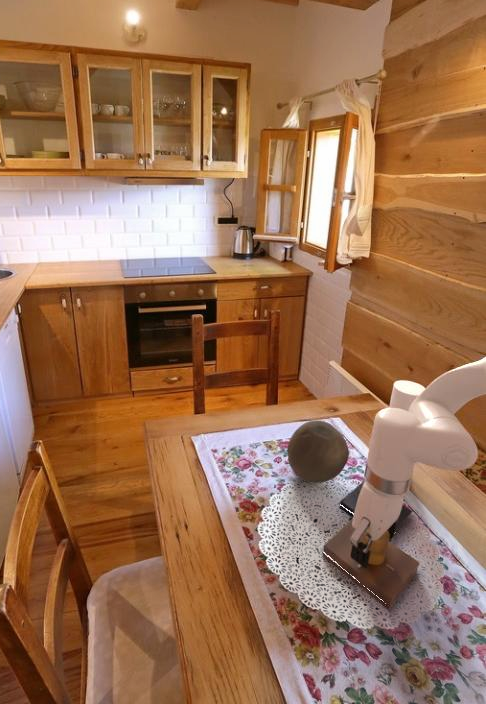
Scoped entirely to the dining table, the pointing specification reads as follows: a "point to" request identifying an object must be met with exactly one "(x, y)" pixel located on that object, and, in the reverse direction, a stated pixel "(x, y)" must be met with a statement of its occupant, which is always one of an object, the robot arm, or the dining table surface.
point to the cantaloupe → (317, 452)
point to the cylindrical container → (405, 394)
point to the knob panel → (373, 568)
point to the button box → (351, 503)
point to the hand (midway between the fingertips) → (372, 547)
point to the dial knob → (377, 548)
